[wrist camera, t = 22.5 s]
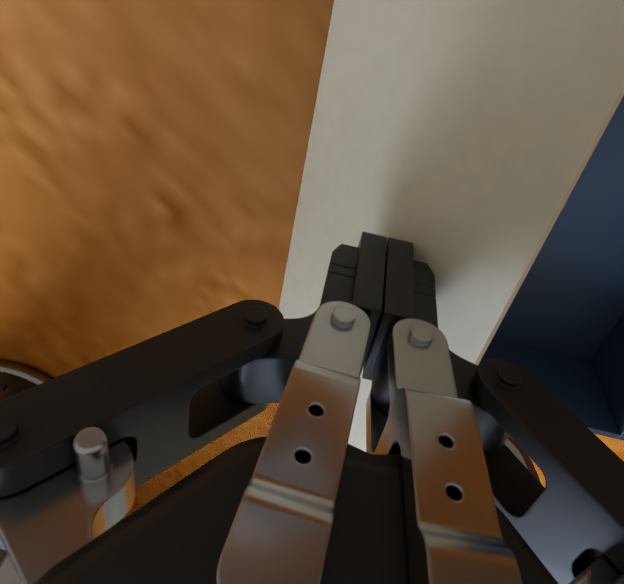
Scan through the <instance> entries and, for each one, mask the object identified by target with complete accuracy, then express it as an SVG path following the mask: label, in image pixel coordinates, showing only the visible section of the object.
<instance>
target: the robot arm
mask: <svg viewBox="0 0 624 584" xmlns="http://www.w3.org/2000/svg"><path fill="white" fill-rule="evenodd" d="M362 369H363V373H362V378H364V379H368V380H372V385H371V390H370V393H369V396H368V399H367V402H366V452H365V451H363V450H360V449H358V448H356V447H354V446H352V445H350V444H348V440H349V435H350V430H351V425H352V421H353V416H354V411H355V406H356V402H357V397H358V392H359V388H360V382H361V378H360V375H361V372H362ZM278 402H280V403H279V405H278V408H277V411H276V413H275V416H274V419H273V421H272V424H271V427H270V430H269V432H268V435H267V437H259V438H255V439H250V440H247V441H245V442H242V443H239V444H237V445H235V446H233V447H231V448H229V449H227V450H226V451H224V452H222V453H221V454H219V455H218V456H216V457H215V458H214V459H212V460H211V461H209V462H208V463H206V464H205V465H203V466H202V467H200V468H199V469H197V470H196V471H194V472H193V473H191V474H190V475H188V476H187V477H185V478H184V479H182V480H181V481H179V482H178V483H176V484H175V485H173V486H172V487H170V488H169V489H167V490H166V491H165V492H163V493H162V494H160V495H159V496H157V497H156V498H154V499H153V500H151V501H150V502H148V503H147V504H145V505H144V506H142V507H141V508H139V509H138V510H136V511H135V512H133V513H132V514H130V515H129V516H127V517H126V518H124V516H125V515H126V514H127V513H128V512H129V510H130V509H131V507H132V505H133V503H134V500H135V496H136V487H137V486H139V485H140V484H142V483H144V482H145V481H147V480H149V479H150V478H152V477H154V476H155V475H157V474H159V473H160V472H162V471H164V470H166V469H167V468H169V467H171V466H172V465H174V464H176V463H177V462H179V461H181V460H182V459H184V458H186V457H187V456H189V455H191V454H192V453H194V452H196V451H197V450H199V449H201V448H202V447H204V446H206V445H207V444H209V443H211V442H212V441H214V440H216V439H217V438H219V437H221V436H222V435H224V434H226V433H227V432H229V431H231V430H232V429H234V428H236V427H237V426H239V425H241V424H242V423H244V422H246V421H247V420H249V419H251V418H252V417H254V416H256V415H258V414H259V413H261V412H262V411H264V410H265V409H266V408H267V406H268V404H269V403H278ZM509 435H510V437H511V438H512V439H513V440H514V441H515V442H516V443H517V444H518V445H519V446H520V447H521V448H522V449H523V451H524V452H525V453H526V454H527V455H528V456H529V457H530V458H531V459H532V460H533V461H534V462H535V463H536V465H537V466H538V467H539V468H540V469H541V471H542V472H543V474H544V477H545V480H546V487H545V488H544V487H543V486H542V484H541V483H540V482H539V481H538V480H537V479H536V478H535V477H534V476H533V475H532V473H531V472H530V471H529V470H528V469H527V468H526V467H525V466H524V465H523V464H522V462H521V461H520V460H519V459H518V458H517V457H516V456H515V455H514V454H513V453H512V451H511V450H510V449H509V448H508V447H507V446H506V445H505V444H504V443H505V441H506V440H507V438H508V437H509ZM122 518H124V519H123V520H121V519H122ZM120 520H121V521H120ZM119 521H120V522H119ZM116 523H117V524H116ZM8 556H9V558H10V560H11V562H12V564H13V566H14V568H15V571H16V573H17V575H18V577H19V579H20V581H21V583H22V584H624V462H623V461H622V460H621V459H620V458H619V457H618V456H617V455H616V454H615V453H614V452H613V451H612V450H611V449H609V448H608V447H607V446H606V445H605V444H604V443H603V442H602V441H601V440H600V439H599V438H598V437H597V436H596V435H595V434H593V433H592V432H591V431H590V430H589V429H588V428H587V427H586V426H585V425H584V424H583V423H582V422H581V421H580V420H579V419H577V418H576V417H575V416H574V415H573V414H572V413H571V412H570V411H569V410H568V409H567V408H566V407H565V406H564V405H563V404H562V403H560V402H559V401H558V400H557V399H556V398H555V397H554V396H553V395H552V394H551V393H550V392H549V391H548V390H547V389H546V388H544V387H543V386H542V385H541V384H540V383H539V382H538V381H537V380H536V379H535V378H534V377H533V376H532V375H531V374H530V373H529V372H527V371H526V370H525V369H524V368H523V367H521V366H520V365H518V364H516V363H514V362H512V361H510V360H507V359H504V358H497V357H492V358H487V359H485V360H483V361H482V362H481V363H480V365H479V366H478V365H476V364H474V363H471V362H469V361H467V360H465V359H463V358H461V357H459V356H458V355H456V354H455V353H453V352H452V351H451V350H449V346H448V342H447V339H446V337H445V335H444V334H443V333H442V332H441V331H440V330H439V329H438V319H437V304H436V289H435V275H434V273H433V272H432V270H431V269H430V267H429V266H428V264H427V263H423V262H419V261H415V260H414V259H413V243H412V242H407V241H403V240H399V239H394V238H390V237H388V239H387V237H385V236H381V235H377V234H372V233H368V232H364V231H363V232H362V234H361V238H360V241H359V245H358V247H354V246H350V245H345V244H341V245H339V246H338V247H337V248H336V249H335V250H333V251H332V255H331V259H330V264H329V268H328V272H327V276H326V280H325V285H324V289H323V293H322V298H321V302H320V306H319V307H318V309H317V310H316V311H315V312H314V313H313V314H311V315H309V316H306V317H303V318H294V319H284V317H283V315H282V313H281V312H280V311H279V310H278V309H277V308H276V307H275V306H273V305H271V304H269V303H267V302H264V301H260V300H244V301H240V302H237V303H235V304H232V305H230V306H228V307H225V308H223V309H220V310H218V311H215V312H213V313H211V314H208V315H206V316H203V317H201V318H199V319H196V320H194V321H191V322H189V323H186V324H184V325H182V326H179V327H177V328H174V329H172V330H170V331H167V332H165V333H162V334H160V335H157V336H155V337H153V338H150V339H148V340H145V341H143V342H141V343H138V344H136V345H133V346H131V347H128V348H126V349H124V350H121V351H119V352H116V353H114V354H112V355H109V356H107V357H104V358H102V359H99V360H97V361H95V362H92V363H90V364H87V365H85V366H83V367H80V368H78V369H75V370H73V371H71V372H68V373H66V374H63V375H61V376H58V377H56V378H54V379H51V378H49V377H47V376H45V375H44V374H42V373H40V372H38V371H35V370H33V369H31V368H28V367H25V366H22V365H19V364H15V363H11V362H5V361H0V568H1V566H2V565H3V563H4V562H5V560H6V558H7V557H8Z"/></svg>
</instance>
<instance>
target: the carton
mask: <svg viewBox="0 0 624 584" xmlns="http://www.w3.org/2000/svg"><path fill="white" fill-rule="evenodd" d="M492 357H497V358H504V359H507V360H510V361H512V362H514V363H516V364H518V365H520V366H521V367H523V368H524V369H525V370H526V371H527V372H529V373H530V374H531V375H532V376H533V377H534V378H535V379H536V380H537V381H538V382H539V383H540V384H541V385H542V386H543V387H544V388H546V389H547V390H548V391H549V392H550V393H551V394H552V395H553V396H554V397H555V398H556V399H557V400H558V401H559V402H560V403H562V404H563V405H564V406H565V407H566V408H567V409H568V410H569V411H570V412H571V413H572V414H573V415H574V416H575V417H576V418H577V419H579V420H580V421H581V422H582V423H583V424H584V425H585V426H586V427H587V428H588V429H589V430H590V431H591V432H592V433H595V434H599V435H603V436H607V437H611V438H616V439H620V440H624V96H623V97H622V99H621V101H620V103H619V105H618V107H617V109H616V110H615V112H614V114H613V116H612V118H611V120H610V122H609V123H608V125H607V127H606V129H605V131H604V133H603V135H602V136H601V138H600V140H599V142H598V144H597V146H596V148H595V149H594V151H593V153H592V155H591V157H590V159H589V161H588V162H587V164H586V166H585V168H584V170H583V172H582V173H581V175H580V177H579V179H578V181H577V183H576V185H575V186H574V188H573V190H572V192H571V194H570V196H569V198H568V199H567V201H566V203H565V205H564V207H563V209H562V211H561V212H560V214H559V216H558V218H557V220H556V222H555V224H554V225H553V227H552V229H551V231H550V233H549V235H548V237H547V238H546V240H545V242H544V244H543V246H542V248H541V249H540V251H539V253H538V255H537V257H536V259H535V261H534V262H533V264H532V266H531V268H530V270H529V272H528V274H527V275H526V277H525V279H524V281H523V283H522V285H521V287H520V288H519V290H518V292H517V294H516V296H515V298H514V300H513V301H512V303H511V305H510V307H509V309H508V311H507V313H506V314H505V316H504V318H503V320H502V322H501V324H500V325H499V327H498V329H497V331H496V333H495V335H494V337H493V338H492V340H491V342H490V344H489V346H488V348H487V350H486V351H485V353H484V355H483V357H482V359H481V361H480V363H481V362H482V361H483V360H485V359H487V358H492ZM480 363H479V364H478V366H479V365H480Z"/></svg>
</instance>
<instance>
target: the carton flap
mask: <svg viewBox="0 0 624 584" xmlns="http://www.w3.org/2000/svg"><path fill="white" fill-rule="evenodd" d="M623 96H624V0H334V4H333V10H332V15H331V21H330V26H329V32H328V37H327V43H326V48H325V54H324V60H323V65H322V71H321V76H320V82H319V87H318V93H317V98H316V104H315V110H314V115H313V121H312V126H311V132H310V137H309V143H308V148H307V154H306V159H305V165H304V171H303V176H302V182H301V187H300V193H299V198H298V204H297V209H296V215H295V221H294V226H293V232H292V237H291V243H290V248H289V254H288V259H287V265H286V271H285V276H284V282H283V287H282V293H281V298H280V304H279V309H278V310H279V311H280V312H281V313H282V315H283V317H284V319H294V318H303V317H306V316H309V315H311V314H313V313H314V312H315V311H316V310H317V309H318V307H319V306H320V302H321V298H322V293H323V289H324V285H325V280H326V276H327V272H328V268H329V264H330V259H331V255H332V251H333V250H335V249H336V248H337V247H338V246H339V245H341V244H345V245H350V246H354V247H358V245H359V241H360V238H361V234H362V232H363V231H364V232H368V233H372V234H377V235H381V236H385V237H387V239H388V237H390V238H394V239H399V240H403V241H407V242H412V243H413V259H414V260H415V261H419V262H423V263H427V264H428V266H429V267H430V269H431V270H432V272H433V273H434V275H435V289H436V304H437V319H438V329H439V330H440V331H441V332H442V333H443V334H444V335H445V337H446V339H447V342H448V346H449V350H451V351H452V352H453V353H455V354H456V355H458V356H459V357H461V358H463V359H465V360H467V361H469V362H471V363H474V364H476V365H478V364H479V363H480V361H481V359H482V357H483V355H484V353H485V351H486V350H487V348H488V346H489V344H490V342H491V340H492V338H493V337H494V335H495V333H496V331H497V329H498V327H499V325H500V324H501V322H502V320H503V318H504V316H505V314H506V313H507V311H508V309H509V307H510V305H511V303H512V301H513V300H514V298H515V296H516V294H517V292H518V290H519V288H520V287H521V285H522V283H523V281H524V279H525V277H526V275H527V274H528V272H529V270H530V268H531V266H532V264H533V262H534V261H535V259H536V257H537V255H538V253H539V251H540V249H541V248H542V246H543V244H544V242H545V240H546V238H547V237H548V235H549V233H550V231H551V229H552V227H553V225H554V224H555V222H556V220H557V218H558V216H559V214H560V212H561V211H562V209H563V207H564V205H565V203H566V201H567V199H568V198H569V196H570V194H571V192H572V190H573V188H574V186H575V185H576V183H577V181H578V179H579V177H580V175H581V173H582V172H583V170H584V168H585V166H586V164H587V162H588V161H589V159H590V157H591V155H592V153H593V151H594V149H595V148H596V146H597V144H598V142H599V140H600V138H601V136H602V135H603V133H604V131H605V129H606V127H607V125H608V123H609V122H610V120H611V118H612V116H613V114H614V112H615V110H616V109H617V107H618V105H619V103H620V101H621V99H622V97H623ZM362 373H363V369H362V372H361V375H360V378H361V382H360V388H359V392H358V397H357V402H356V406H355V411H354V416H353V421H352V425H351V430H350V435H349V440H348V444H350V445H352V446H354V447H356V448H358V449H360V450H363V451H365V452H366V402H367V399H368V396H369V393H370V390H371V385H372V380H368V379H364V378H362Z"/></svg>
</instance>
